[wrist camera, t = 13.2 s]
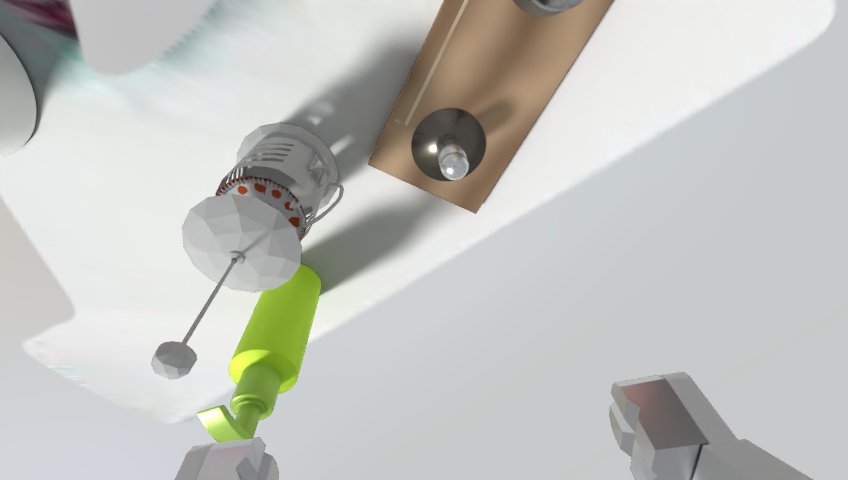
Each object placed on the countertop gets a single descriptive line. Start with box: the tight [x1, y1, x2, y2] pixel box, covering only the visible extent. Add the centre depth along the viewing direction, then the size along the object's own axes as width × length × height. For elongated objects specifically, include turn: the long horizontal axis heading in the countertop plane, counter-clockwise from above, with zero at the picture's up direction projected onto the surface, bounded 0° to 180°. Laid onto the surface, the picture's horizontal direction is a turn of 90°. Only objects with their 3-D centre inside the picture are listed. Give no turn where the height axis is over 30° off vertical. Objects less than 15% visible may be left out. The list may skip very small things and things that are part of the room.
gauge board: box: [368, 0, 613, 214], centre depth 36 cm, size 12×26×1 cm, turn 153°
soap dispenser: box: [197, 264, 321, 443], centre depth 39 cm, size 6×7×20 cm
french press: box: [151, 123, 344, 379], centre depth 30 cm, size 10×12×25 cm
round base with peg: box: [411, 108, 486, 181], centre depth 37 cm, size 7×7×6 cm
